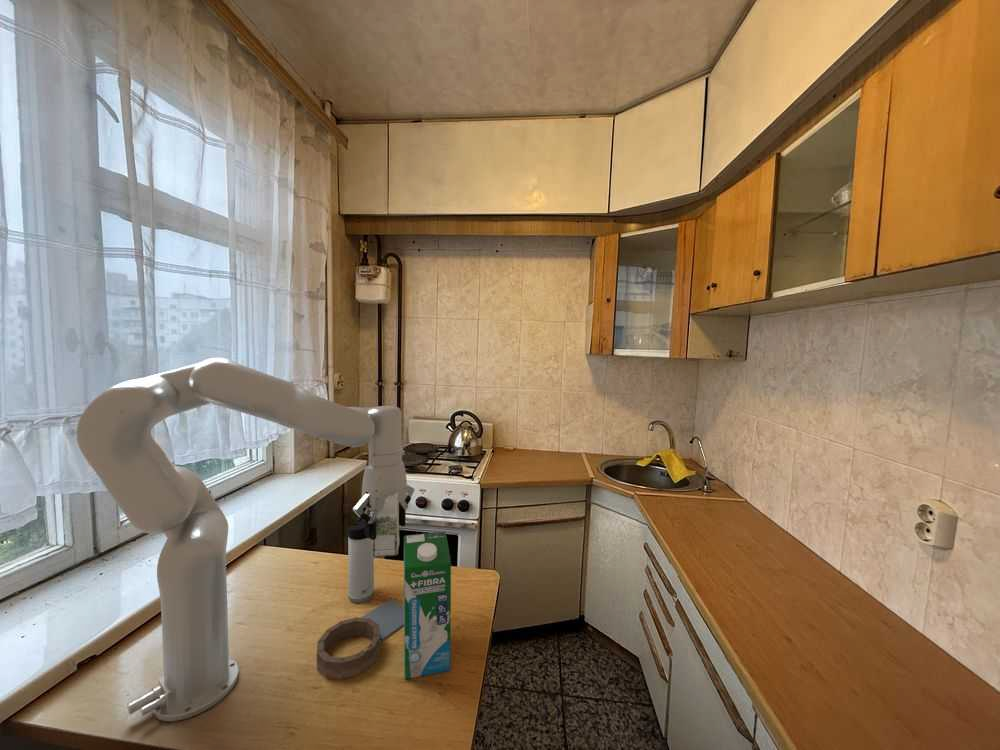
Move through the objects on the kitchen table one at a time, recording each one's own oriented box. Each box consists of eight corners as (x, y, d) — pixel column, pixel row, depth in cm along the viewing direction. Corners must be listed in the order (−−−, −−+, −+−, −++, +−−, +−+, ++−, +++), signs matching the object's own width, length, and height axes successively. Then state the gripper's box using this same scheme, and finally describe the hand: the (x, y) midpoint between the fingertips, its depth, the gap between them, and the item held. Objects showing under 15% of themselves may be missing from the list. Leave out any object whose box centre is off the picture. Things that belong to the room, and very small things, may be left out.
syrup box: (399, 543, 93) (399, 486, 92) (397, 556, 87) (397, 495, 86) (375, 545, 92) (375, 487, 91) (371, 558, 86) (371, 497, 85)
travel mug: (370, 603, 96) (369, 527, 95) (344, 603, 96) (343, 527, 95) (378, 588, 102) (378, 517, 101) (354, 588, 102) (354, 516, 101)
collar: (338, 690, 71) (338, 671, 71) (305, 658, 78) (305, 641, 78) (392, 649, 81) (392, 632, 81) (358, 624, 88) (358, 609, 88)
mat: (382, 640, 83) (382, 639, 83) (356, 621, 89) (356, 620, 89) (416, 615, 91) (416, 614, 91) (390, 599, 97) (390, 598, 97)
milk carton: (404, 680, 73) (404, 556, 72) (403, 645, 82) (403, 535, 81) (450, 670, 76) (451, 550, 74) (445, 637, 84) (445, 530, 83)
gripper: (404, 448, 97) (404, 514, 98) (342, 464, 83) (343, 540, 84) (424, 453, 93) (424, 522, 94) (362, 470, 79) (362, 551, 80)
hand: (386, 530), depth 89 cm, fingers closed on syrup box, 7 cm apart
